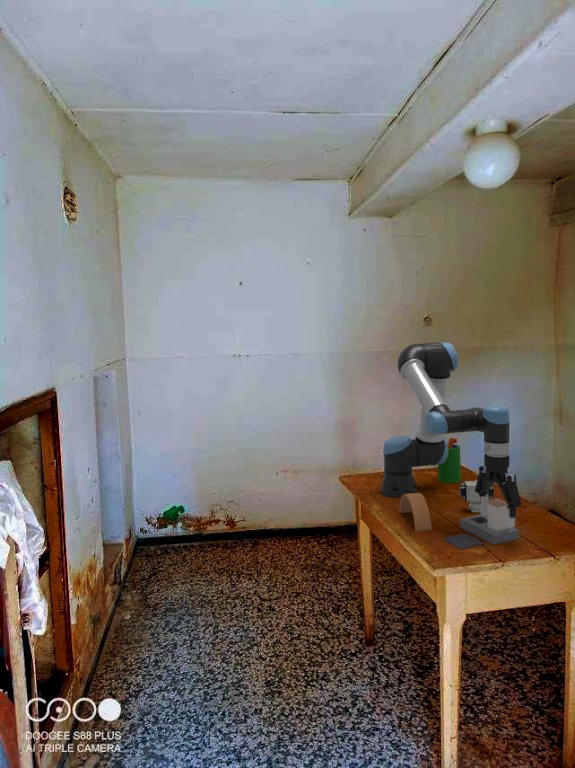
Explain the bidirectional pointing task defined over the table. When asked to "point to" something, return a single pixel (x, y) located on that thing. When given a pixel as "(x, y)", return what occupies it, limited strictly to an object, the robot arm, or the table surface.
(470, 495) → the pneumatic valve
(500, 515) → the plug
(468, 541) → the mat
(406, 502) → the arch
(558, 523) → the table surface
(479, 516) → the grey boxy piece
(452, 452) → the green tall piece
